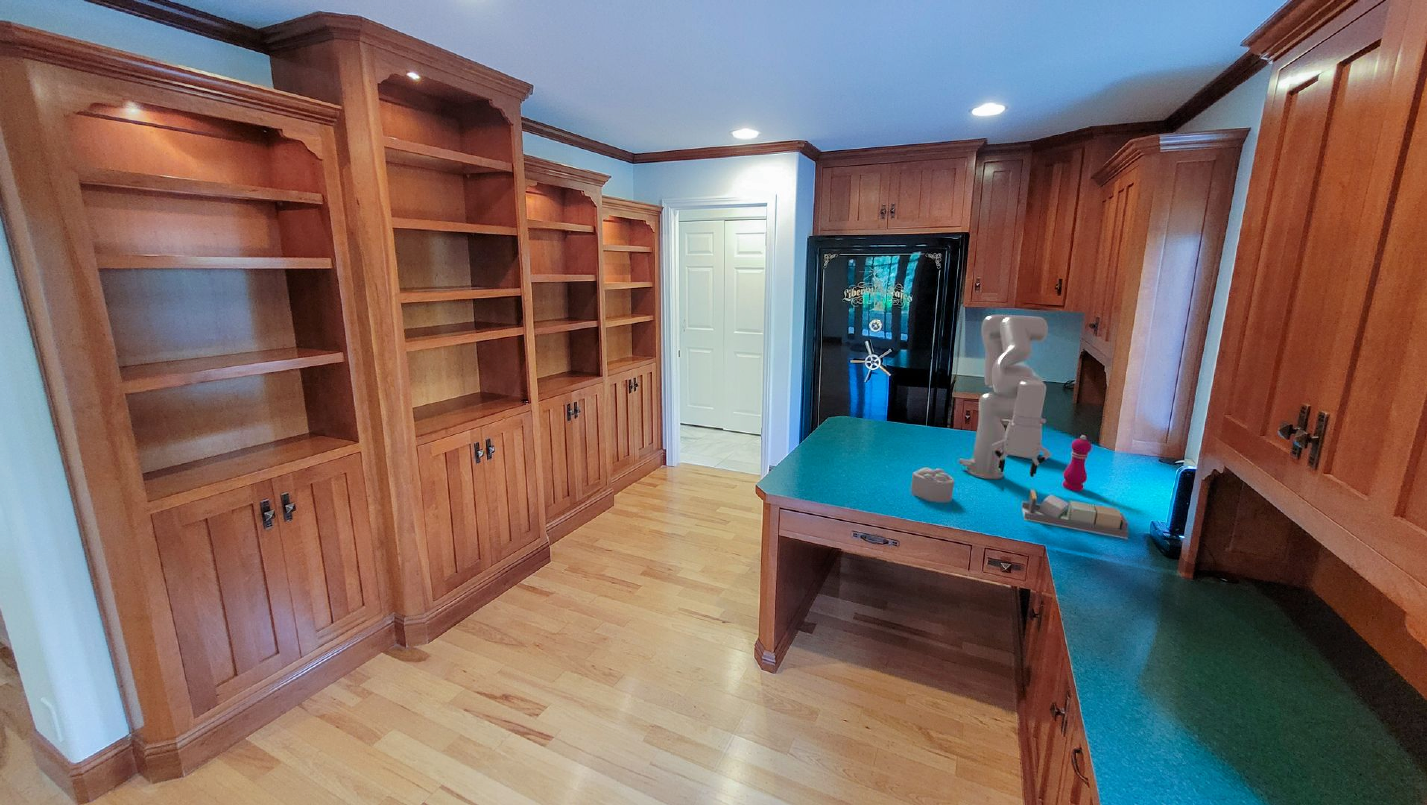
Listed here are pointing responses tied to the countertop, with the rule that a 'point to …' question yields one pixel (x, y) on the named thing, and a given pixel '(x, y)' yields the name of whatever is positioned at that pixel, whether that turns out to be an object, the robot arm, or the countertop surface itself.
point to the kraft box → (1107, 517)
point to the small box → (1053, 507)
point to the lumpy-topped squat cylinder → (932, 485)
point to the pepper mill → (1077, 465)
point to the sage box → (1081, 512)
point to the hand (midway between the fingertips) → (1016, 472)
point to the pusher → (1032, 502)
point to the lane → (1075, 522)
